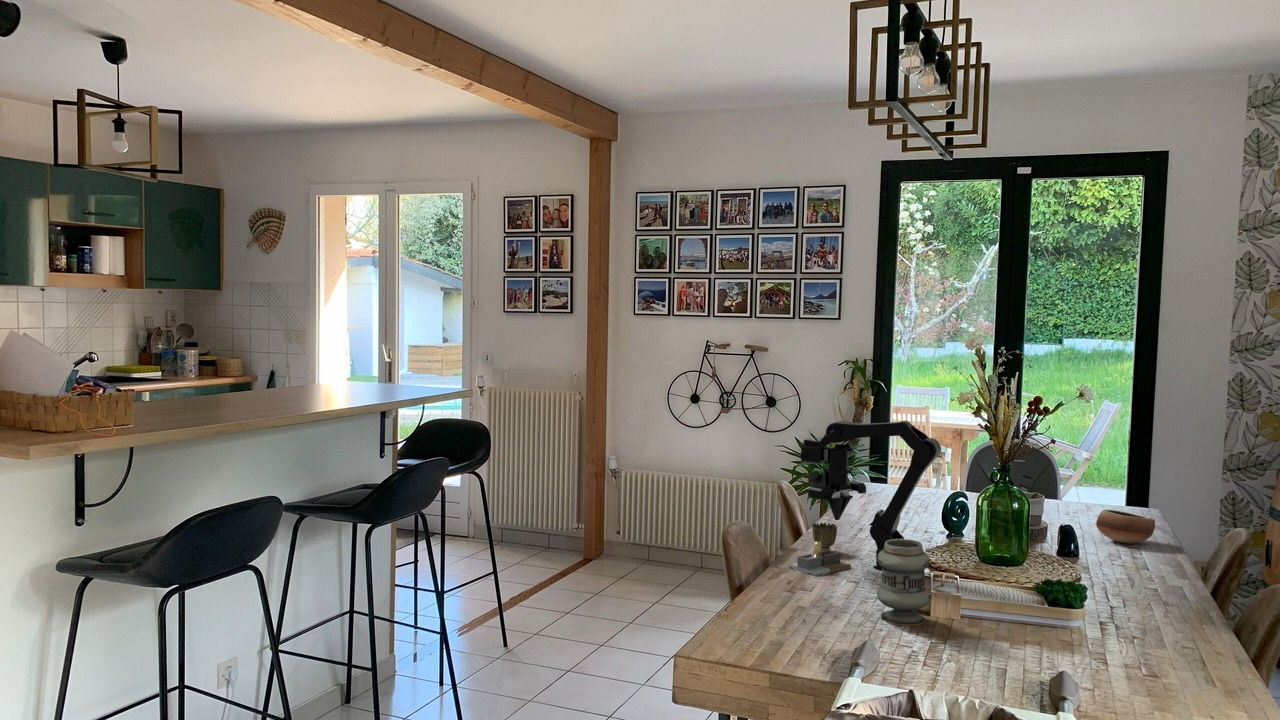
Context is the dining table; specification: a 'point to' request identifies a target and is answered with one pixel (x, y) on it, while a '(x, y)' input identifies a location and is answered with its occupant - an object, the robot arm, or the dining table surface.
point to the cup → (824, 535)
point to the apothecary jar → (903, 581)
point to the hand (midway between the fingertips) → (837, 519)
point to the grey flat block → (833, 561)
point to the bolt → (817, 551)
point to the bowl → (1125, 526)
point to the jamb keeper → (810, 565)
